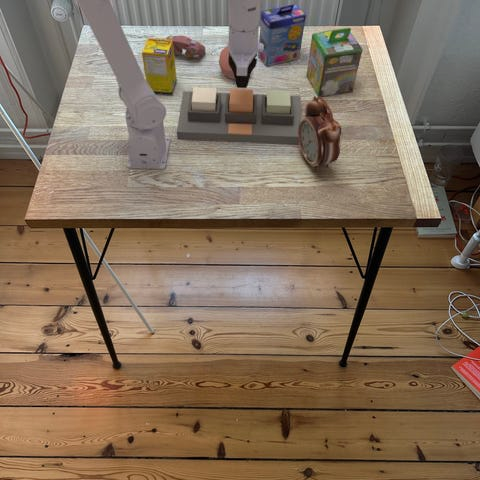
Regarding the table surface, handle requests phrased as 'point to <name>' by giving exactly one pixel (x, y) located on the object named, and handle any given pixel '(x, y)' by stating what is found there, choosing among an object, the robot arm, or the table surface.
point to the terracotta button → (241, 100)
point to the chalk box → (333, 61)
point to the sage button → (278, 102)
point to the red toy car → (186, 46)
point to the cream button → (204, 99)
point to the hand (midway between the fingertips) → (241, 85)
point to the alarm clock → (319, 134)
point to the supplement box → (159, 65)
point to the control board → (239, 122)
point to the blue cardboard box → (281, 34)
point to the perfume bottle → (225, 63)
